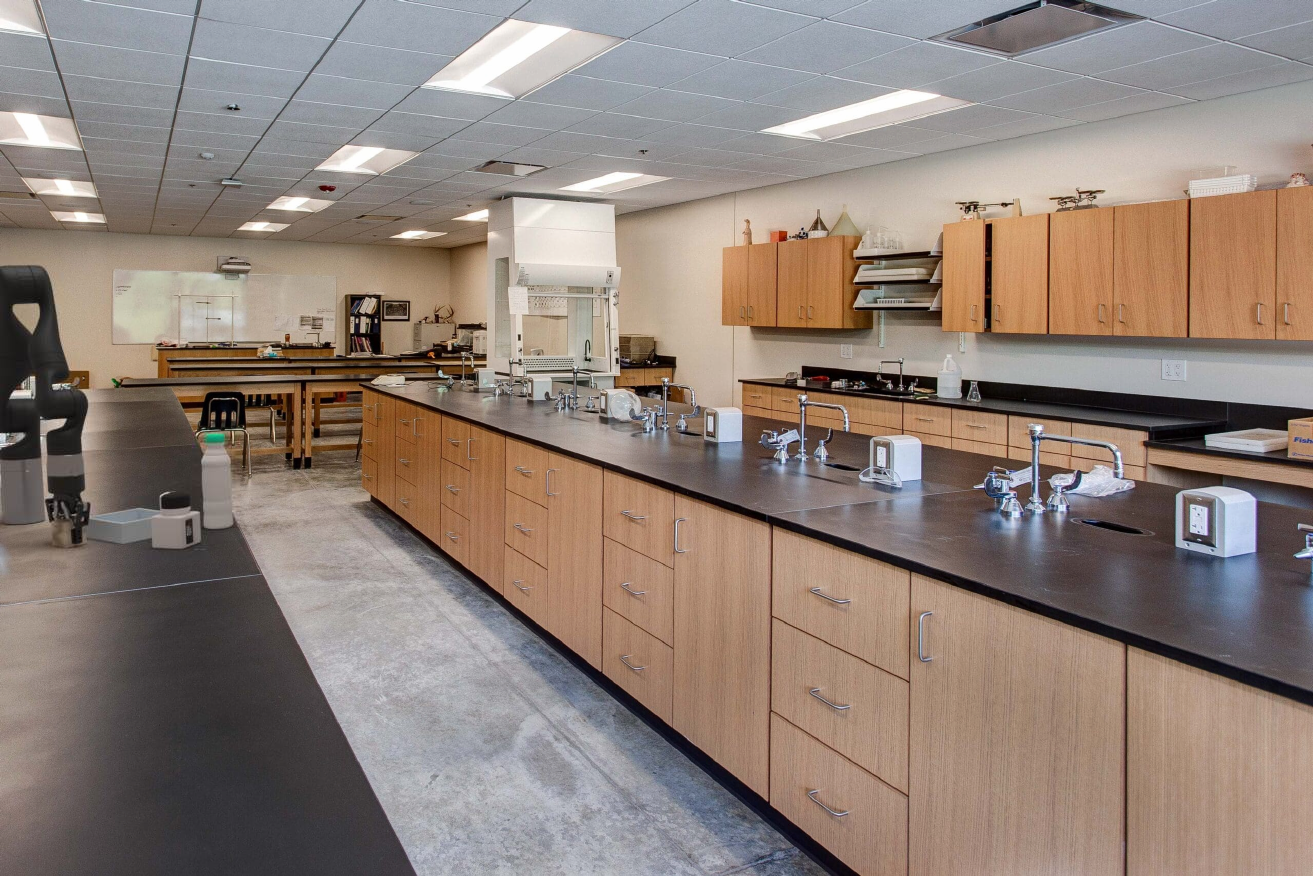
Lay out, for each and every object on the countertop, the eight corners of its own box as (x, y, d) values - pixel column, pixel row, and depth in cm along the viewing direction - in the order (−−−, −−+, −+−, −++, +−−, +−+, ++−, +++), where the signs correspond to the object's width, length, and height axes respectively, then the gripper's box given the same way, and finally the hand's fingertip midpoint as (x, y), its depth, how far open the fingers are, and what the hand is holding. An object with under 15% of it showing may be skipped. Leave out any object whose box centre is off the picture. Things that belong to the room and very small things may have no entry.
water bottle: (225, 530, 234) (221, 435, 231) (198, 529, 234) (194, 434, 232) (238, 524, 241) (234, 432, 238) (212, 523, 241) (208, 432, 239)
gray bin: (83, 537, 223) (82, 517, 223) (140, 526, 237) (139, 508, 236) (123, 544, 217) (121, 523, 216) (178, 532, 230) (177, 513, 230)
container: (201, 542, 220) (199, 490, 219) (182, 549, 213) (179, 495, 211) (172, 541, 221) (169, 489, 220) (151, 548, 213) (149, 494, 212)
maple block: (52, 545, 214) (51, 521, 213) (73, 541, 219) (72, 517, 218) (65, 547, 212) (64, 523, 211) (86, 543, 217) (85, 519, 216)
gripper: (30, 472, 213) (35, 542, 215) (68, 477, 207) (72, 548, 209) (63, 468, 220) (66, 536, 222) (100, 472, 214) (104, 542, 216)
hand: (69, 541), depth 215 cm, fingers closed on maple block, 5 cm apart
